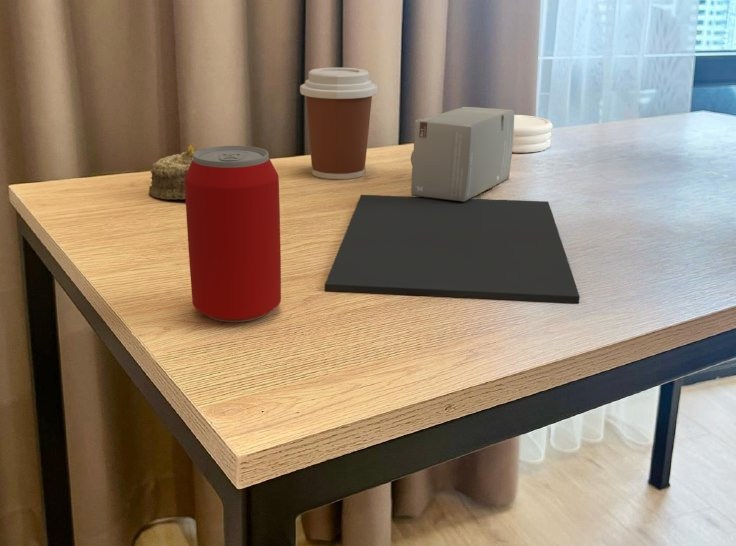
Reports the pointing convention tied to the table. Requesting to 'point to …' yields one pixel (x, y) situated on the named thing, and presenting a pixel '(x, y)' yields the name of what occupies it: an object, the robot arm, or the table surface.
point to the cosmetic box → (461, 152)
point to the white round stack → (531, 134)
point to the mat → (453, 250)
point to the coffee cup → (338, 120)
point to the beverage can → (233, 232)
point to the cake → (171, 175)
